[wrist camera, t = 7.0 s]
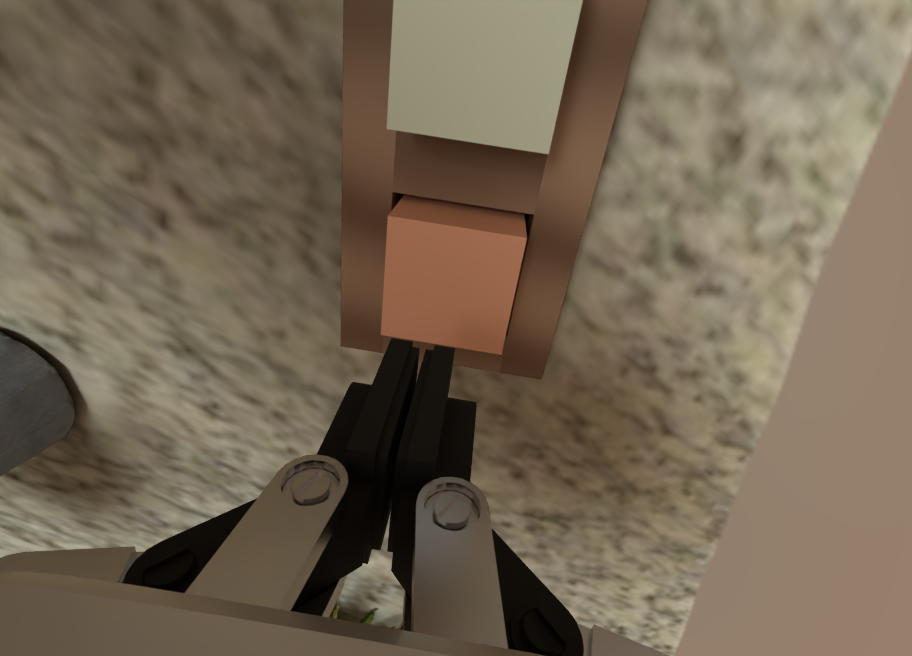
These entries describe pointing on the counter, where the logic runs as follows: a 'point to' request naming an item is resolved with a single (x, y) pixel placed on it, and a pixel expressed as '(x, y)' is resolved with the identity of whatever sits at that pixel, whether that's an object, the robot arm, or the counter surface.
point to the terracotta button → (451, 272)
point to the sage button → (480, 69)
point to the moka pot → (29, 404)
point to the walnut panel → (477, 178)
